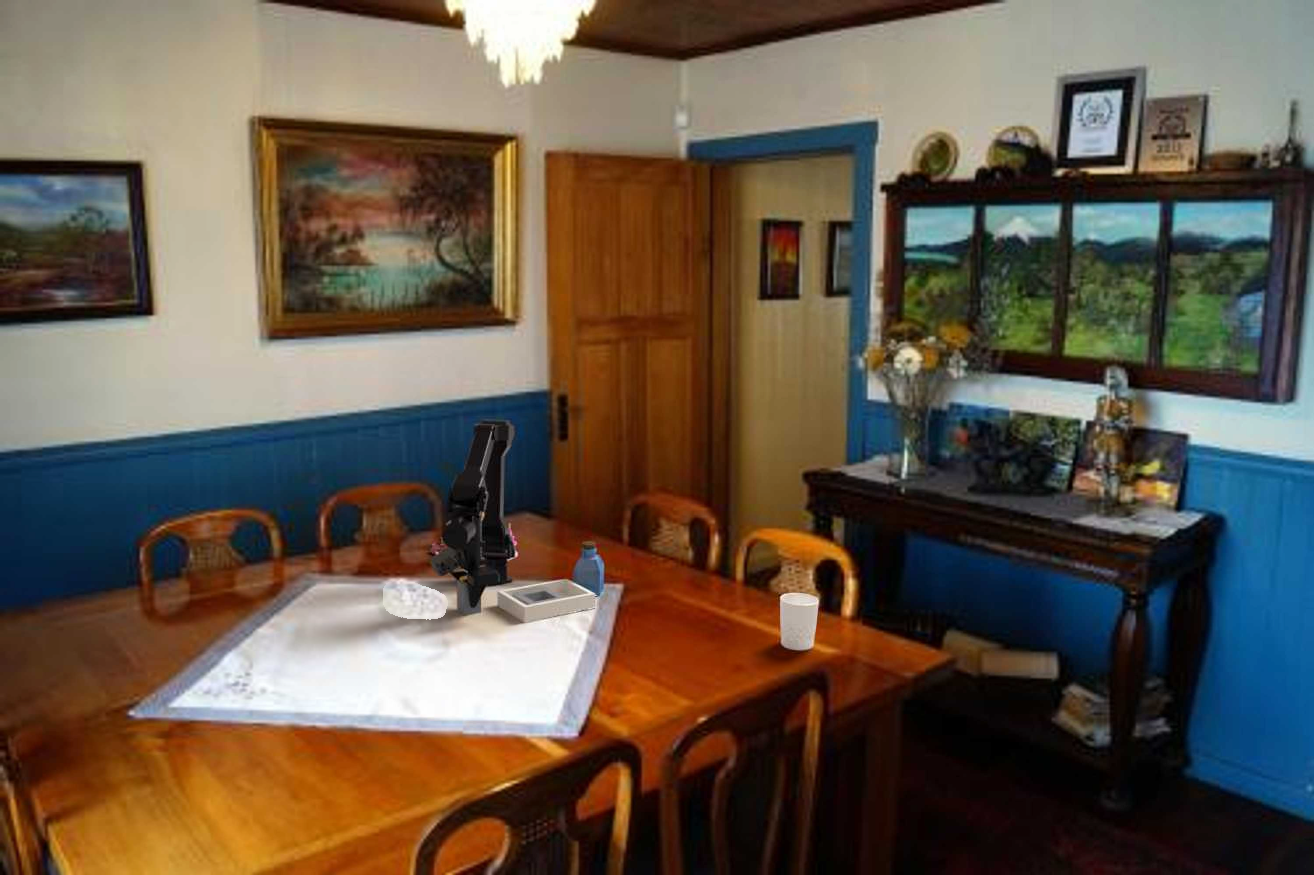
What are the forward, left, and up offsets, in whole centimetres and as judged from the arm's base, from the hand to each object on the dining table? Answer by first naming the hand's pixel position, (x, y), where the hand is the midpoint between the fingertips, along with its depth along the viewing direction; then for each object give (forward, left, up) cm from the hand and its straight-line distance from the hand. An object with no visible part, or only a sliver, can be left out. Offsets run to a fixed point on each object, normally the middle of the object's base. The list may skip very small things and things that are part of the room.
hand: (469, 604), depth 234 cm
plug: (0, 0, -2) cm, 2 cm away
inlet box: (+7, +16, -2) cm, 17 cm away
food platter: (-42, +23, -2) cm, 48 cm away
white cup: (+54, +49, -2) cm, 73 cm away
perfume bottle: (+2, +30, -2) cm, 30 cm away
